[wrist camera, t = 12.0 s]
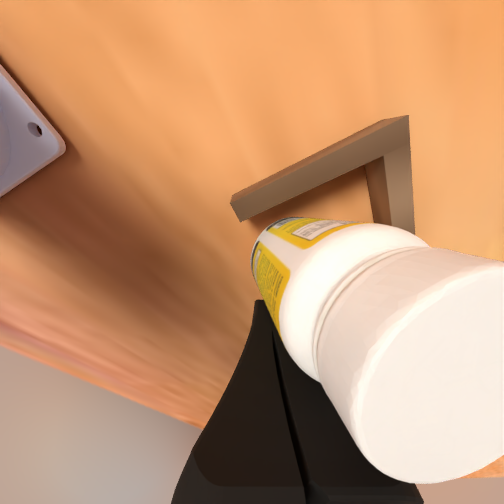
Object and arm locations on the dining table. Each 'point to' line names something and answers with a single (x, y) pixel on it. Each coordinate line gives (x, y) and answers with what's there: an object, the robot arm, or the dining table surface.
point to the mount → (340, 162)
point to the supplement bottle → (393, 339)
